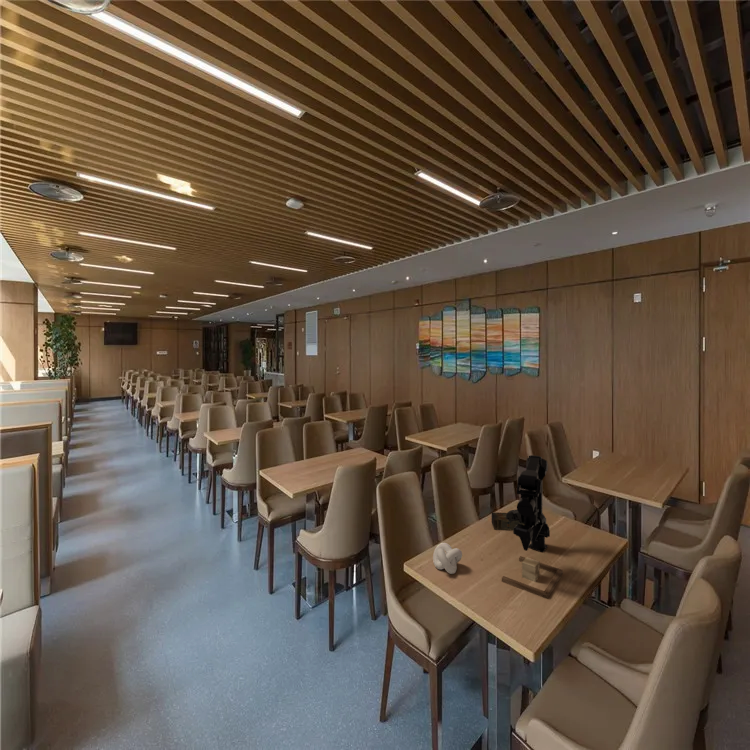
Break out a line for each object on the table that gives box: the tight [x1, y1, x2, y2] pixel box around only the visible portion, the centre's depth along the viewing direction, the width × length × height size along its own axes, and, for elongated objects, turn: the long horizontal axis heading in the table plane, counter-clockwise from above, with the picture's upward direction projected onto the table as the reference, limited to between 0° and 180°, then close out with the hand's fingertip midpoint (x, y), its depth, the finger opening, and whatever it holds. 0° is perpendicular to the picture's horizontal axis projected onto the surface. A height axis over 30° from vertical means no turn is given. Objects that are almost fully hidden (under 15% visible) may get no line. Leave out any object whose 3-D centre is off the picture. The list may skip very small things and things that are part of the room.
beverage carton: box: [491, 512, 525, 531], centre depth 186 cm, size 8×19×7 cm, turn 83°
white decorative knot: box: [432, 542, 463, 575], centre depth 151 cm, size 11×12×9 cm
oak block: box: [521, 557, 540, 583], centre depth 143 cm, size 5×5×6 cm
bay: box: [501, 556, 564, 600], centre depth 143 cm, size 20×16×2 cm
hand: (529, 545), depth 144 cm, fingers open, 9 cm apart
